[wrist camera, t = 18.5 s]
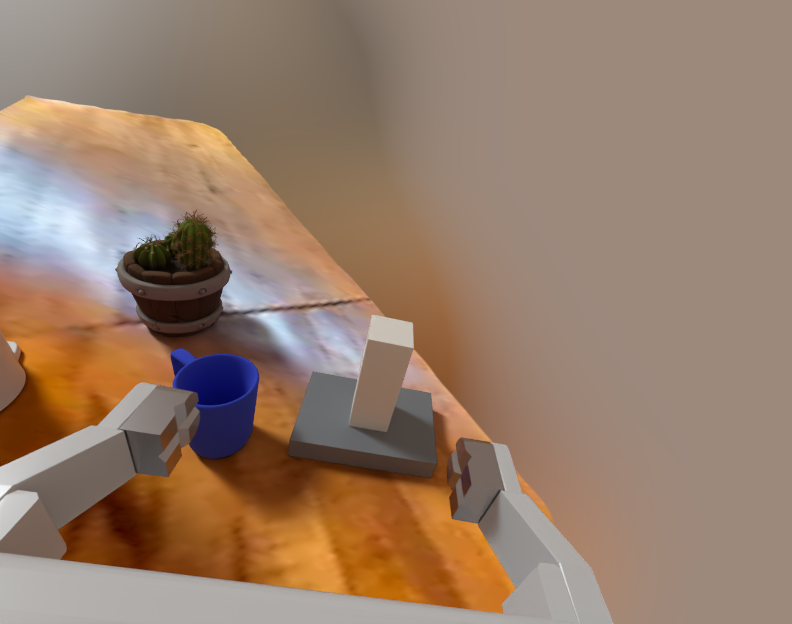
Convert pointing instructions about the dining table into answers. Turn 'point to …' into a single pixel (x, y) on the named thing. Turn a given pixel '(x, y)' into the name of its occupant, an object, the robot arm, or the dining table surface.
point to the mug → (219, 399)
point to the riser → (364, 430)
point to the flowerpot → (177, 279)
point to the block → (381, 372)
